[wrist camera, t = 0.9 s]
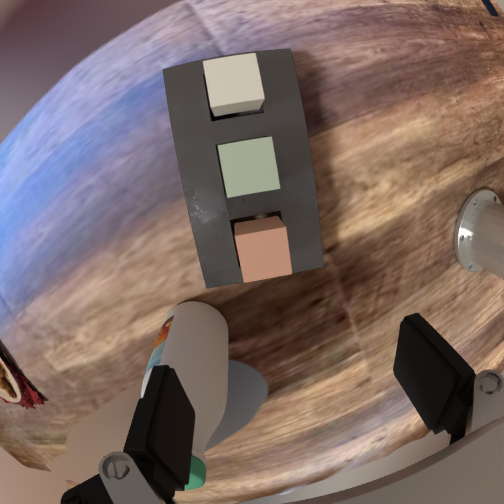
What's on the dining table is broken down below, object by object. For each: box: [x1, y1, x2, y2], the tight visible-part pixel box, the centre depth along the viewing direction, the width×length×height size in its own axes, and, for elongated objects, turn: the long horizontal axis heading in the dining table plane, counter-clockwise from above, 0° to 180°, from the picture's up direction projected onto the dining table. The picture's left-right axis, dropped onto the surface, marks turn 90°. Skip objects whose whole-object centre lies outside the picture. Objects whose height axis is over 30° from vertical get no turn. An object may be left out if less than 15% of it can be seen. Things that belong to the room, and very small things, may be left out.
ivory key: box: [203, 53, 265, 116], centre depth 20 cm, size 4×4×4 cm
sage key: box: [218, 136, 280, 198], centre depth 22 cm, size 4×4×4 cm
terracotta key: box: [235, 216, 292, 283], centre depth 24 cm, size 4×4×4 cm
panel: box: [163, 49, 324, 288], centre depth 25 cm, size 12×22×3 cm, turn 10°
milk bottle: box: [141, 301, 228, 490], centre depth 22 cm, size 8×8×20 cm
